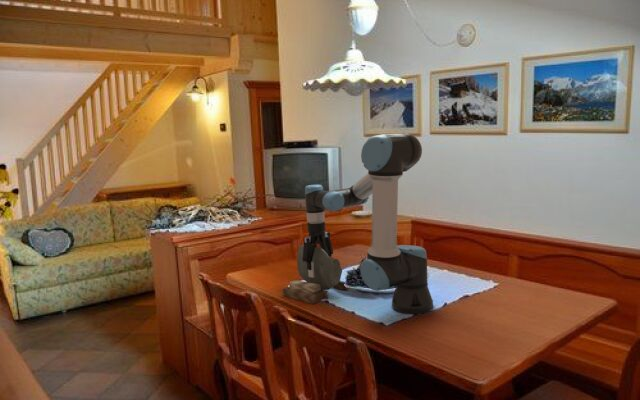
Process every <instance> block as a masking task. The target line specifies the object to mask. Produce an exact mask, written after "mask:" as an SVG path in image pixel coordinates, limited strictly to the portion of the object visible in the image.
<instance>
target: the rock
mask: <svg viewBox="0 0 640 400" xmlns="http://www.w3.org/2000/svg"><path fill="white" fill-rule="evenodd" d="M303 249H304V244H300V245H299V246H298V248H297V258H296V263H297V271H298V276H300V277H301V278H302V279H303V281H304V282H309V283H314V284H320V285H321V290H325V291H329V290H331V289H332V288H334V286H335V285H337V284H338V283H339V282H340V281H341V279H342V275H343V274H342V273H343V268H342V266H341V263H340V261H339V260H340V259H337V258H334V257H333V256H331V257H329V256H328V254H327V253H326V252H325V250H323V249H322V248H321V247H319V246H318V245H317V246H316V247H315V251H314V255H313V259H312V262H313V263H314V278H312V277H309V275H308V270H307V262H304V261H303Z"/></svg>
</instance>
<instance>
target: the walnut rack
mask: <svg viewBox="0 0 640 400" xmlns="http://www.w3.org/2000/svg"><path fill="white" fill-rule="evenodd" d="M345 282H346V281H342V280H340V282H339V283H338V284H337V285H335V286H334V287H333V288H334V289H337V290H343V291H349V290H350V287H349V288H346V287H345V286H344V284H345ZM328 291H329V290H319V293H317V294H315V295H311V294H307V293H303V292H299V291H296V290H292V289H290V286H288V287H284V288H282V296H284V297H287V298H290V299H293V300H294V299H295V300H297V301H300V302H301V301H302V302H304V303H308V304H312V305H315V304H316V303H319V302H322V301H323V300H327V299H328V298H329V293H328Z"/></svg>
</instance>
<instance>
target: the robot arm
mask: <svg viewBox="0 0 640 400" xmlns="http://www.w3.org/2000/svg"><path fill="white" fill-rule="evenodd" d="M422 154H423V148H422V144H421V142H420V140H419V139H418V138H417V137H416V136H415V135H413V134H411V133H406V132H402V133H390V134H389V133H388V134H386V133H382V134H378V135H377V134H376V135H373V136H371V137H369V138H368V139H366V141H365V142H364V144H363V145H362V148H361V153H360V155H361V156H360V158H361V163H362V164H363V167H364V168H365V169H366V170H368V171H367V173H365V175H364V176H362V177H361V178H360V179H359V180H358V181H357V182H355V183H354V184H353V185H352V186H350V187H347V188H342V189H334V190H324V186H323V185H322V184H310V185H306V186H304V187H305V188H304V197H305V198H304V199H305V211H306V221H307V223H306V230H307V232H308V236H307V237H303V239H302V240H303V245H304V249H303V261H304V262H307V270H308V275H309V277H312V278H314V263H313V262H312V259H313V255H314V251H315V247H316V246H318V245H319V246H320V248H322V249H323V250H325V252H326V253H327V254H328V256H329V257H333V256H332V255H333V254H334V250H333V246H332V241H331V232H330V231H329V232H327V231H326V222H325V219H326V218H325V217H326V216H325V210H326V211H331V212H334V211H335V212H337V211H340V210H341V209H342V208H349V207H356V206H361V205H364V204H366V203H367V202H368V200H369V197H370V196H371V195H372V199H371V200H372V202H371V203H372V205H371V206H372V207H371V210H372V211H371V212H372V214H371V215H372V217H371V246H370V247H369V248H368V249H367V256H366V259H365V258H364V259H363V261H362V262H361V263H360V267H359V268H360V270H359V271H360V276H361V278H362V281H363V283H364V284H365V285H366V286H367V287H368V288H369V289H370V290H372V291H376V292H379V291H383V290H384V291H386V290H388V289H391V288H393V287H395V288H394V289H395V290H394V292H393V295H392V300H391V308H392V309H393V310H394V311H396V312H399V313H402V314H410V315H411V314H413V315H414V314H424V313H427V312H430V311H431V310H433V308H434V300H433V298H432V295H431V292H430V290H429V286H428V285H429V284H428V257H427V250H426V249H425V248H424V247H422V246H418V245H410V244H400V245H398V244H397V243H398V242H397V241H398V240H397V239H398V238H397V236H398V235H397V234H398V205H399V202H398V198H399V197H398V196H399V179H401V177H402V176H403V175H404V173H405V172H407V171H409V170H410V169H411V168H413V167H414V166H415V165H417V164H418V162H419V161H420V159H421V158H422Z"/></svg>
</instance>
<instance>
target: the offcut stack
mask: <svg viewBox="0 0 640 400" xmlns="http://www.w3.org/2000/svg"><path fill="white" fill-rule="evenodd" d="M289 287H290V289H292V290H296V291H299V292H303V293H307V294H311V295H315V294H317V293H319V290H321V285H320V284H314V283H309V282H306V281H305V280H303V281H302V280H298V279H294V280H292V281H289Z"/></svg>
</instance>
